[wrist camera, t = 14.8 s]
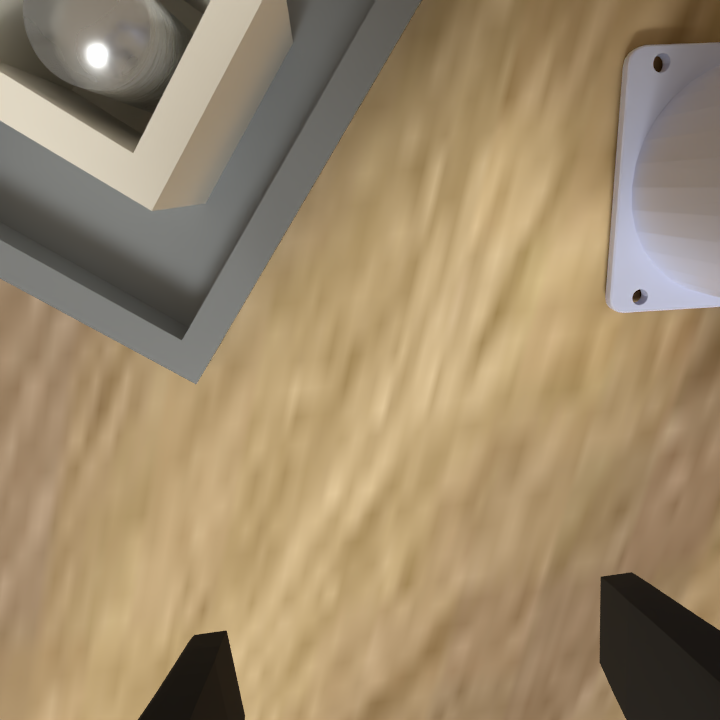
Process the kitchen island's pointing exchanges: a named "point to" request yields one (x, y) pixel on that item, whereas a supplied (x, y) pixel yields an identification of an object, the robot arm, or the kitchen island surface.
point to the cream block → (173, 113)
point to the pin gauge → (109, 45)
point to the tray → (196, 222)
